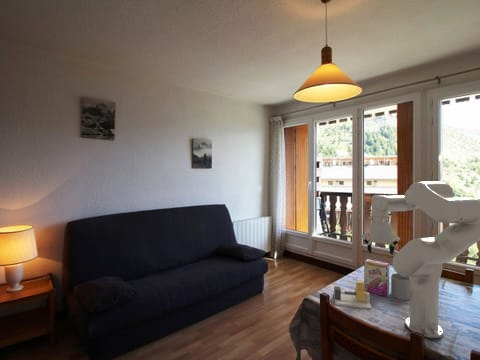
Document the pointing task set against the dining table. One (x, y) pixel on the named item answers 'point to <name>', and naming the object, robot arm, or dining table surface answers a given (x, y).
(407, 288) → the cup
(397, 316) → the dining table surface
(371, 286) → the candy bar box
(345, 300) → the shallow white tray
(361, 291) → the yellow tall block
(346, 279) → the dining table surface
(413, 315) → the robot arm
